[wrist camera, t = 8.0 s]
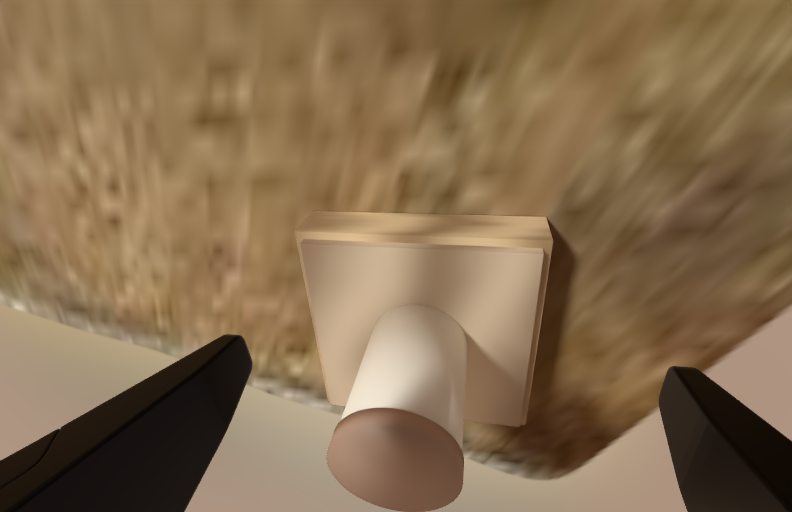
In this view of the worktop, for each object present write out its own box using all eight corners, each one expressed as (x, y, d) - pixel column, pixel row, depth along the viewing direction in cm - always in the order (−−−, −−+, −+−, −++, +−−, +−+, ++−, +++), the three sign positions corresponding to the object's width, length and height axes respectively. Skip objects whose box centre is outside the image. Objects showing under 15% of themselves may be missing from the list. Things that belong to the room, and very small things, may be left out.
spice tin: (471, 306, 20) (464, 436, 14) (468, 383, 22) (461, 521, 16) (365, 299, 21) (316, 418, 15) (375, 374, 23) (336, 500, 17)
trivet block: (546, 216, 20) (555, 246, 17) (522, 391, 26) (526, 432, 23) (313, 211, 22) (290, 236, 20) (340, 372, 28) (325, 408, 25)
